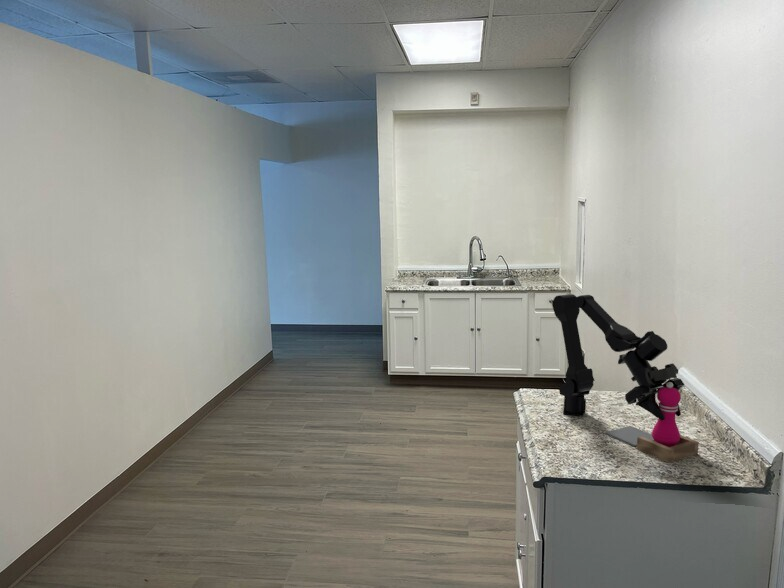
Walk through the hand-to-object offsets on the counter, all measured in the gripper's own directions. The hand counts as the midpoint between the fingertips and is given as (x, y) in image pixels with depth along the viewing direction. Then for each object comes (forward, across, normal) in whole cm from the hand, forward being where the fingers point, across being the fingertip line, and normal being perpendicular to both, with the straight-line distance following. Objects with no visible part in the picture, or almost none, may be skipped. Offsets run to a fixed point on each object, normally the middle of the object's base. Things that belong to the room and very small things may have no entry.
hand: (671, 417), depth 167 cm
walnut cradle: (+6, 0, +8) cm, 10 cm away
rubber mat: (-2, 0, +16) cm, 16 cm away
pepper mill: (+6, 0, +8) cm, 10 cm away
